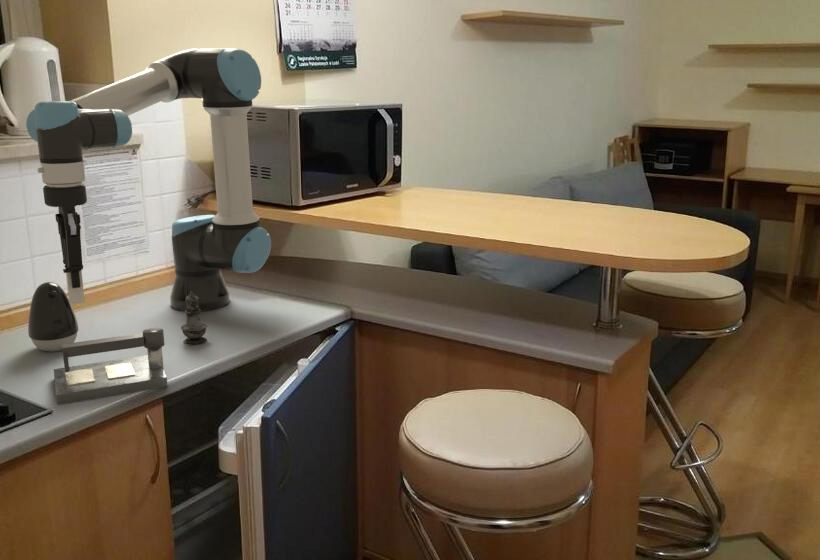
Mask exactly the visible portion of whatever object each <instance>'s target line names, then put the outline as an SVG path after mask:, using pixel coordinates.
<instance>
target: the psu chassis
mask: <svg viewBox="0 0 820 560" xmlns="http://www.w3.org/2000/svg"><path fill="white" fill-rule="evenodd" d="M146 350H147V354H145V355H139V356H133V357H126V358H120V359H119V358H118V359H113V360H108V361H107V360H106V361H100V362H93V363H87V364H80V365H79V364H78V365H75V366H74V365H73V366H72V365H71V366H69V370H70V372H65V368H64V367H60V368H53V374H54V375H53V376H54V384H55V392H56V401H57V402H56V403H57V406H59V405H65V404H71V403H78V402H83V401H88V400H96V399H101V398H107V397H108V398H109V397H113V396H119V395H125V394H131V393H132V394H133V393H137V392H143V391H149V390H156V389H160V388H168V386H169V385H168V377H167V374H166V372H165V369H164V368H165V367H164V359H163V358H164V357H163V346H162V347H160V348H155V349H148V348H146Z"/></svg>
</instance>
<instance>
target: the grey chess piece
mask: <svg viewBox="0 0 820 560" xmlns="http://www.w3.org/2000/svg"><path fill="white" fill-rule="evenodd" d="M184 312H185V313H186V321H185V323H184V324H183V325H181V326H180V330H182V333H183V335H184V336H185V337H186V338H185V339H184V340H183V344H184V345H187V346H198V345H199V346H200V345H203V344H204V343H207V342H208V339H207V337H204V335H205V333H206V331H207V328H208V324H206V323H205V322H203V321H202V320H201V312H202V311H201V309H199V300H198V297H197V296H196V295H194V294H193V292H192V291H191V294H190V295H188V296H187V297H186V310H185V311H184Z"/></svg>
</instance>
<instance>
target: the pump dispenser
mask: <svg viewBox="0 0 820 560" xmlns="http://www.w3.org/2000/svg"><path fill="white" fill-rule="evenodd" d="M72 305H73V304H70V303H69V296H68V295H67V294H66V292H65V291H64V289H63V288H62V287H61V286H60V285H59V284H58V283H55V282H52V281H47V282H46V281H45V282H43V283H41V284H39V285H38V286H37V287H36V289H35V291H34V293H33V295H32V299H31V302H30V307H29V312H28V321H27V322H28V325H27V326H28V327H27V330H28V333H27V334H28V337H29V338H30V340H31V341H32V344H33V345H34V346H35V347H36V348H37V349H39V350H40V351H44V352H60V351H62V344H67V343H75V341H76V340H77V339H76V338H77V336H78V332H79V330H80V329H79V323H78V320H77V316H76V314H75V311H74V308H73V306H72Z"/></svg>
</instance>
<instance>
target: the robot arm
mask: <svg viewBox="0 0 820 560" xmlns="http://www.w3.org/2000/svg"><path fill="white" fill-rule="evenodd" d="M261 86H262V75H261V70H260V68H259V65H258V63H257V61H256V60H255V58H253V56H252V54H250V53H249V52H247V51H245V50H243V49H239V48H232V47H231V48H230V47H225V48H190V49H186V50H185V49H184V50H182V51H179V52H176V53H174V54H171V55H169V56H166V57H163V58H162V59H159V60H156V61H154V62H151V63H150V64H148V65H147V66H146V68H145V70H143V71H141V72H138V73H136V74H134V75H131V76H129V77H126V78H124V79H120V80H118V81H116V82H114V83H111V84H109V85H106V86H103V87H101V88H99V89H95V90H93V91H90V92H89V93H86V94H83V95H81V96H78V97H76V98H73V99H71V100H68V101H67V100H66V101H65V100H59V101H58V100H57V101H56V100H54V101H53V100H52V101H47V100H46V101H39V102H37V103H36V104H35V105H34V109H32V110H31V111H30V112H29V113H28V115H27V118H26V122H25V126H26V127H25V128H26V131H27V133H28V135H29V136H30V138H31V139H32V140H34V141H35V142H36V143H37V148H38V154H39V162H40V166H41V167H38V168H37V172H38V173H39V174H41V178H42V179H41V180H42V181H41V182H42V183H43V184H45V185H44V186H43V188H42V189H43V190H42V192H43V200H44V204H45V206H48V207H50V208H58V213H55V215H54V216H55V221H56V224H57V231H58V234H59V238H60V246H61V247H60V248H61V253H62V263H63V265H64V268H63V269H62V271H63V273H64V274H65V275H66V278H65V279H66V284H67V285H66V287H67V294H68V295H67V297H68V299H69V303H70V304H71V305H73V304H81V303H85V299H86V298H85V291H84V290H85V289H84V283H83V270H84V265H83V255H82V242H81V241H82V240H81V239H82V238H81V229H82V226H81V215H80V214H78V212H77V210H76V207H77V206H83V205H85V204H86V203H87V202H88V201H87V200H88V198H87V187H86V185H85V184H84V182H85V181H86V175H85V165H84V158H83V151H88V150H96V149H97V150H98V149H110V148H112V149H115V148H116V147H121V146H122V147H123V146H125V145H127V144H128V143H129V142H130V140H131V138H132V136H133V124H132V121H131V118H130V117H129V116H131V115H132V114H135V113H138V112H139V111H142V110H144V109H146V108H148V107H151V106H153V105H155V104H158V103H161V102H162V103H171V102H174V101H175V100H180V99H190V98H191V99H201V100H202V101H201V102H202V103H201V104H202V109H203V110H205V112H206V113H208V115H209V119H210V132H211V143H212V144H211V145H212V155H213V171H214V181H215V194H216V195H215V196H216V205H217V208H216V209H217V213H216V214H204V215H203V214H201V215H195V216H188V217H184V218H180V219H176V220H175V221H173V223H172V225H171V242H172V243H171V244H172V245H171V246H172V255H173V263H174V274H175V275H174V280H173V285H172V288H171V292H170V298H169V299H170V306H171V307H172V308H173V309H175V310H179V311H184V312H185V310H186V297H187V296H188V295H190V294H191V291H192V292H193V294H194V295H196V296H197V297H198V300H199V309H201V311H200V312H203V311H209V310H214V309H215V310H216V309H219V308H222V307H225V306H226V305H228V304H229V303H230V298H231V297H230V292H229V288H228V287H227V284H226V282H225V279H224V277H223V275H222V270H224V271H230V272H235V273H239V274H240V273H242V274H243V273H247V274H251V273H255V272H257V271H259V270H260V269H261V268H263V266H264V265H265V263H266V262H267V260H268V258H269V256H270V253H271V249H272V239H271V236H270V233H269V232H268V230H266V229H265V228H264V227H261V221H260V219H261V218H260V216H259V215H257V213H255V211H254V208H253V206H254V205H253V192H252V190H253V189H252V179H251V178H252V176H251V161H250V147H249V144H250V143H249V134H248V133H249V132H248V131H249V130H248V129H249V128H248V118H247V117H248V113H249V111H250V110H251V109H253V100H254V99H256V98H257V96H259V93H260V91H259V90H261Z"/></svg>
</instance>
